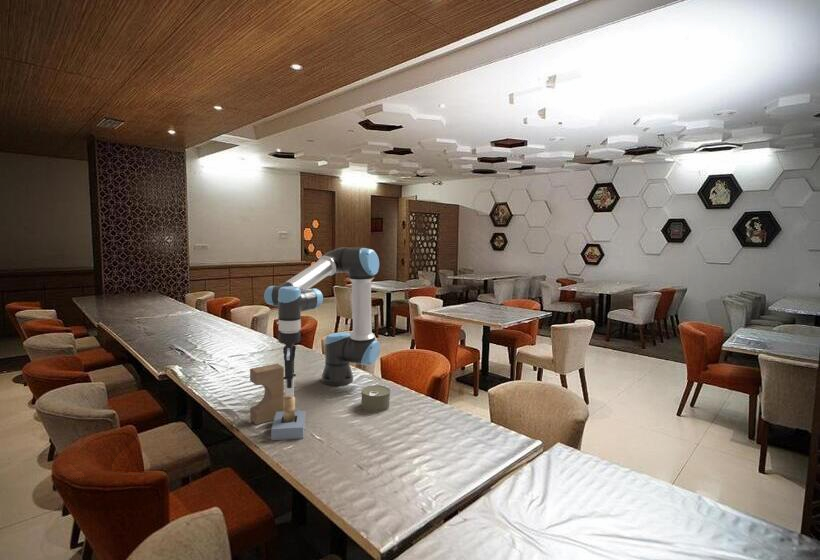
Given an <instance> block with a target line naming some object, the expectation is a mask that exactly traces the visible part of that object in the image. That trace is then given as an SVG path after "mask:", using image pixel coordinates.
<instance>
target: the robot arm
mask: <svg viewBox="0 0 820 560" xmlns="http://www.w3.org/2000/svg"><path fill="white" fill-rule="evenodd" d="M379 269H380V260H379V256H378V254H377V253H376V251H375V250H374V249H371V248H366V247H349V246H348V247H345V246H344V247H343V246H342V247H337V248H334V249H333V250H330V251H328V252H326V253H325V254H323V255H322V256H320V257H319V258H318V260H317V261H316V262H314V263H313V264H311V265H310V266H308V267H307V268H305V269H303V270H302V271H300V272H298V273H297V274H295V275H294V276H293V277H291V278H290V279H288V280H287V281H285V282H283V283H281V284H280V285H270V286H268V287H266V289H265V291H264V294H263V298H264V302H265V303H266V304H267V305H269V306H273V307H277V308H278V309H277V311H278V313H277V314H278V316H277V318H278V321H276V325H278V334H277V335H278V337H277V339H278V340H277V342H278V343H279V344H284V346H283V349H282V350H283V361H284V378H283V379H284V380H285V396H294V395H295V394H294V393H295V391H294V390H295V388H294V387H295V385H294V384H295V383H294V382H295V380H294V379H295V378H294V377H296V373H295V357H296V351H297V349H296V348H297V347H296V345H294V344H298V343H299V342H301V339H302V337H301V334H302V333H301V329H302V318H301V315H302V314H301V313H302V312H305V311H310V310H314V309H317V308H319V307H321V306H322V304H323V302H324V295H323V293H322V291H321V290H320V289H318V288H312V287H314V286H315V285H317V284H318V283H319V282H321V281H323V279H325V278H327V277H328V276H329V277H331V276H334V275H335V274H339V273H342V274H343V273H345V274H347V275H348V276H347V278H348V280H349V281H350V282H351V295H352V296H351V302H352V304H351V305H352V306H351V307H352V333H350V332H347V331H346V332H345V331H343V332H342V331H340V332H335V333H330V334H327V336H325V343H324V345H325V347H324V348H325V350H324V351H325V354H324V355H325V356H324V357H325V358H324V359H325V360H324V361H325V362H324V364H325V365H324V367H323V371H322V373H321V377H320V378H321V379H320V381H321V383H322V384H324V385H326V386H331V387H337V386H346V385H349V384H351V383H353V380H354V374H353V372H352V368H351V363H352V364H358V365H362V366H372V365H373V364H374V363H376V362H377V360H378V357H379V354H380V352H381V351H380V350H381V344H380V342H379V341H378V340H376V335H375V334H374V333H373V332H372V331H373V330H372V329H373V328H372V281H373V279H375V275H377V274H378V272H379ZM294 397H295V396H294Z"/></svg>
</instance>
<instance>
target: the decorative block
mask: <svg viewBox="0 0 820 560" xmlns="http://www.w3.org/2000/svg"><path fill="white" fill-rule="evenodd" d="M284 377H285V366H282V365H281V364H279V363H272V364H268V365H263V366H257V367H252V368H250V369H249V380H250V382H251V383H253V384H254V385H255V386H262V387H263V388H264V394H263V395H264V396H263V397H262V398H261V400H260V402H258V403H257V404H256V405H254V406H252V407H250V409H249V415H250V418H249V419H250V421H251V422H252V423H253V424H255V425H259V424H261V425H262V424H263V423H264V424H265V423H267V422H268V423H269V422H271V421H274V418H275V415H276V412H280V411H283V398H284V397H285V393H284V392H285V391H284V390H285V386H284V385H285V379H283V378H284Z"/></svg>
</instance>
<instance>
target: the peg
mask: <svg viewBox="0 0 820 560" xmlns="http://www.w3.org/2000/svg"><path fill="white" fill-rule="evenodd" d="M295 411H296V396H286V395H284V398H283V420H284V423H291V422H294V420H295Z"/></svg>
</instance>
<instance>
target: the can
mask: <svg viewBox="0 0 820 560" xmlns="http://www.w3.org/2000/svg"><path fill="white" fill-rule="evenodd" d="M360 390H361V391H360V392H361V393H360V394H361V406H360V407H361V409H362V410H363V411H366V412H370V413H381V412H385V411H387V410H389V409H390V398H391V397H390V396H391V395H390V394H391V389H390V388H388V387H386V386H383V385H367V386H365V387H363V388H362V389H360Z"/></svg>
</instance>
